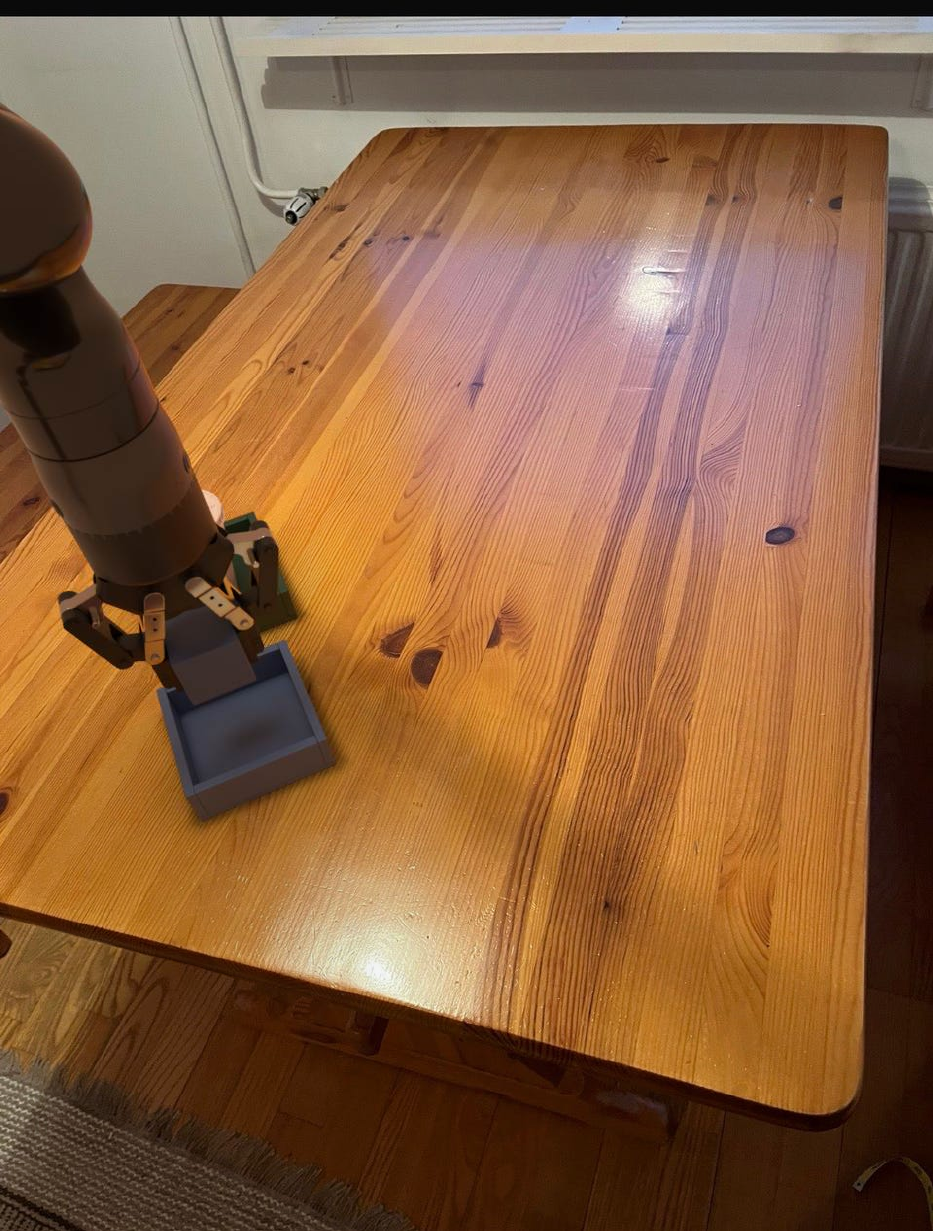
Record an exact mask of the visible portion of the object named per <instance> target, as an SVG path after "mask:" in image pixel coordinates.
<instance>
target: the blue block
mask: <svg viewBox="0 0 933 1231" xmlns="http://www.w3.org/2000/svg"><path fill="white" fill-rule="evenodd" d="M164 643H165V646H166V650H167V653H168V656H169V660H170V663H171V666H172V668H173V670H174V672H175V673H176V675H177V677H178V679H179V681H180V682H181V684H182V686H183V688H184V690H185V691H186V693H187V695H188V697H189V698H190V700H191V702H192V704H193V705H197V704H200V703H202V702H205V701H207V700H210V699H212V698H215V697H217V696H219V695H222V694H224V693H227V692H229V691H232V690H234V689H237V688H239V687H242V686H244V685H247V684H249V683H252V682H254V681H256V677H255V674H254V672H253V669H252V666H251V664H250V662H249V660H248V658H247V656H246V653H245V651H244V649H243V647H242V644H241V642H240V640H239V638H238V636H237V633H236V631H235V628H234V625H233V624H232V623H230V622H229V621H228V620H227V619H226V618H225V617H223V618H221V617H219V616H218V615H217V614H216V613H215V612H214V611H212V610H211V609H210V608H209V607H208V606H204V607H201V608H198V609H193V610H188V611H185V612H183V613H181V614H180V615H178V616H177V617H175V618H172V619H170V620H167V621H165V640H164Z"/></svg>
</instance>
